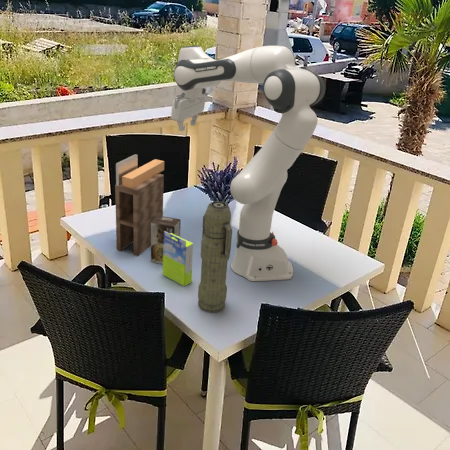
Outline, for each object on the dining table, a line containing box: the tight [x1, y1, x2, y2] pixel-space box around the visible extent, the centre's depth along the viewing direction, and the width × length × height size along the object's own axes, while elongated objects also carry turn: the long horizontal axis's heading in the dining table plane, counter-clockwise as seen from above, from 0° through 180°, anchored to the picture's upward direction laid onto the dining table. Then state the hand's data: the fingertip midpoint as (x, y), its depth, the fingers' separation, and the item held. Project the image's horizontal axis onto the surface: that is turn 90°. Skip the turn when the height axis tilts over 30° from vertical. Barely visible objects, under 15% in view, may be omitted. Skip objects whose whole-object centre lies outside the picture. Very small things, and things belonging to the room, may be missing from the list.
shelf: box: [114, 173, 165, 257], centre depth 192 cm, size 18×9×26 cm, turn 156°
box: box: [162, 231, 194, 287], centre depth 174 cm, size 10×4×17 cm, turn 51°
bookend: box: [115, 153, 139, 186], centre depth 184 cm, size 12×1×8 cm, turn 156°
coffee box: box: [150, 215, 181, 265], centre depth 185 cm, size 9×6×16 cm
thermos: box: [197, 200, 233, 313], centre depth 158 cm, size 9×12×35 cm
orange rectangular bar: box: [122, 158, 165, 188], centre depth 188 cm, size 22×4×4 cm, turn 156°
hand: (187, 127), depth 197 cm, fingers open, 8 cm apart
